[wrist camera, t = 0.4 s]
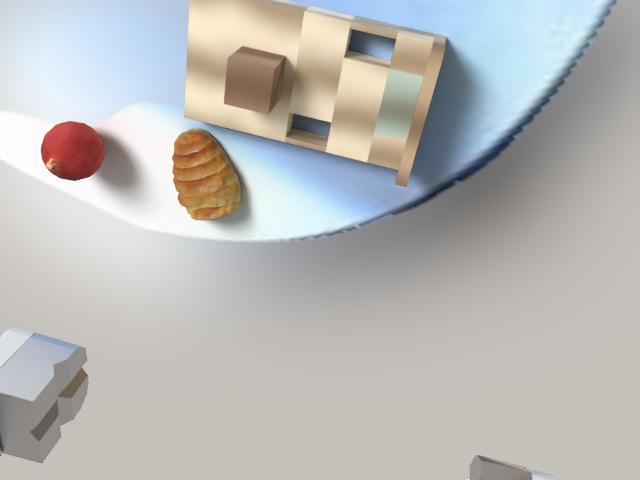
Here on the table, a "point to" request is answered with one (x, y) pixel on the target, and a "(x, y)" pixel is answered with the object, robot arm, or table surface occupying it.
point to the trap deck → (317, 78)
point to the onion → (72, 151)
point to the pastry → (204, 176)
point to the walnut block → (254, 79)
